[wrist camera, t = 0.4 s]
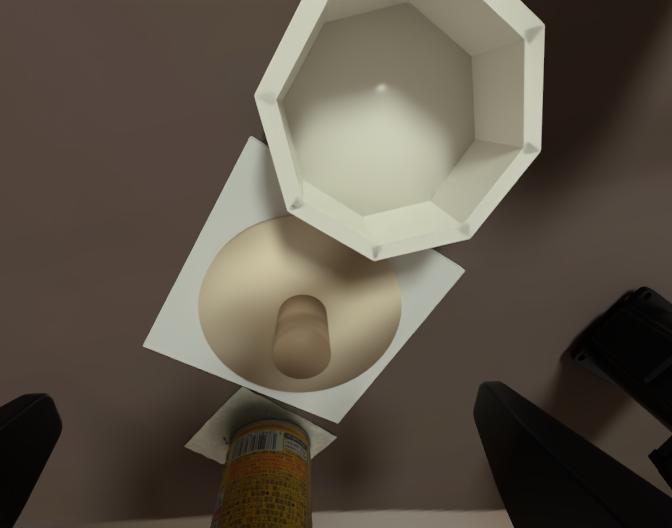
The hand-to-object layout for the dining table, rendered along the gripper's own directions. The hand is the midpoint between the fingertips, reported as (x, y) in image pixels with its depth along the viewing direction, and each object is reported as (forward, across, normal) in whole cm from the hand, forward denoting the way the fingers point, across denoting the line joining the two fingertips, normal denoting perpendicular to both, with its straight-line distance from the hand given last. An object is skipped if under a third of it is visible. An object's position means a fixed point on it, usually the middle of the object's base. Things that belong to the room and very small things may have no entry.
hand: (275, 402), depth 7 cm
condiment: (+13, +3, +17) cm, 21 cm away
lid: (+12, 0, +5) cm, 13 cm away
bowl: (+13, -4, -5) cm, 15 cm away
